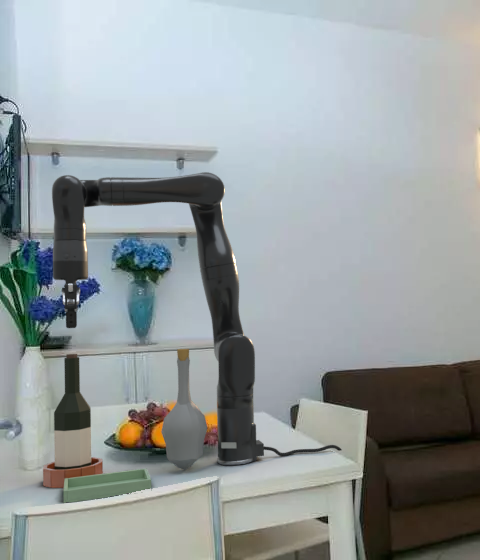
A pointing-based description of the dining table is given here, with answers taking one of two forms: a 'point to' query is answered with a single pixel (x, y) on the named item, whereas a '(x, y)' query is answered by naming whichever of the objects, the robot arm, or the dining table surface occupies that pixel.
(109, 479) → the tray
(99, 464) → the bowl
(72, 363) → the wine bottle
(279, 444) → the dining table surface
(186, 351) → the bottle
